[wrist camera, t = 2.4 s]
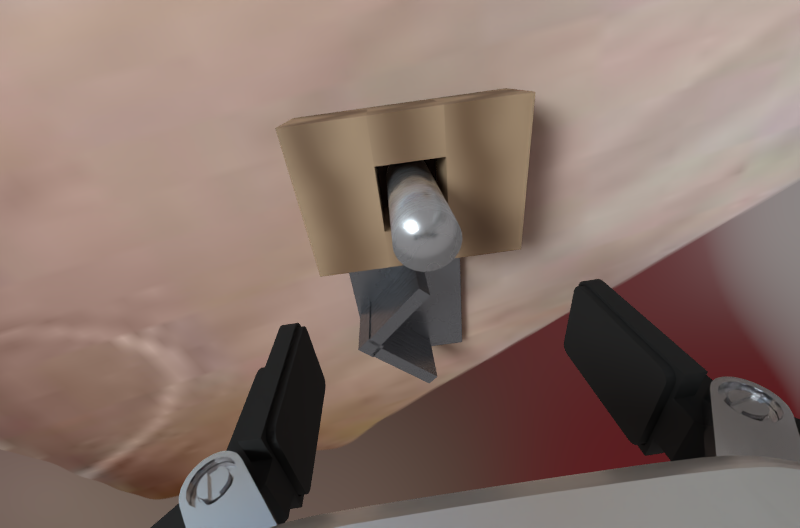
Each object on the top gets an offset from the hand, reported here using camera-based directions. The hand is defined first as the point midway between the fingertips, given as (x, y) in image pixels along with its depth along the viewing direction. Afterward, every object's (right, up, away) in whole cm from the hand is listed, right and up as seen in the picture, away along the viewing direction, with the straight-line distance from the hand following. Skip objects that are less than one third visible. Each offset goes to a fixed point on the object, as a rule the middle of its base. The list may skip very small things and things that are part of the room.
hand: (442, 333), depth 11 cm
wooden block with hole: (-1, +10, +15) cm, 18 cm away
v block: (-1, -1, +22) cm, 22 cm away
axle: (-1, +10, +15) cm, 18 cm away
